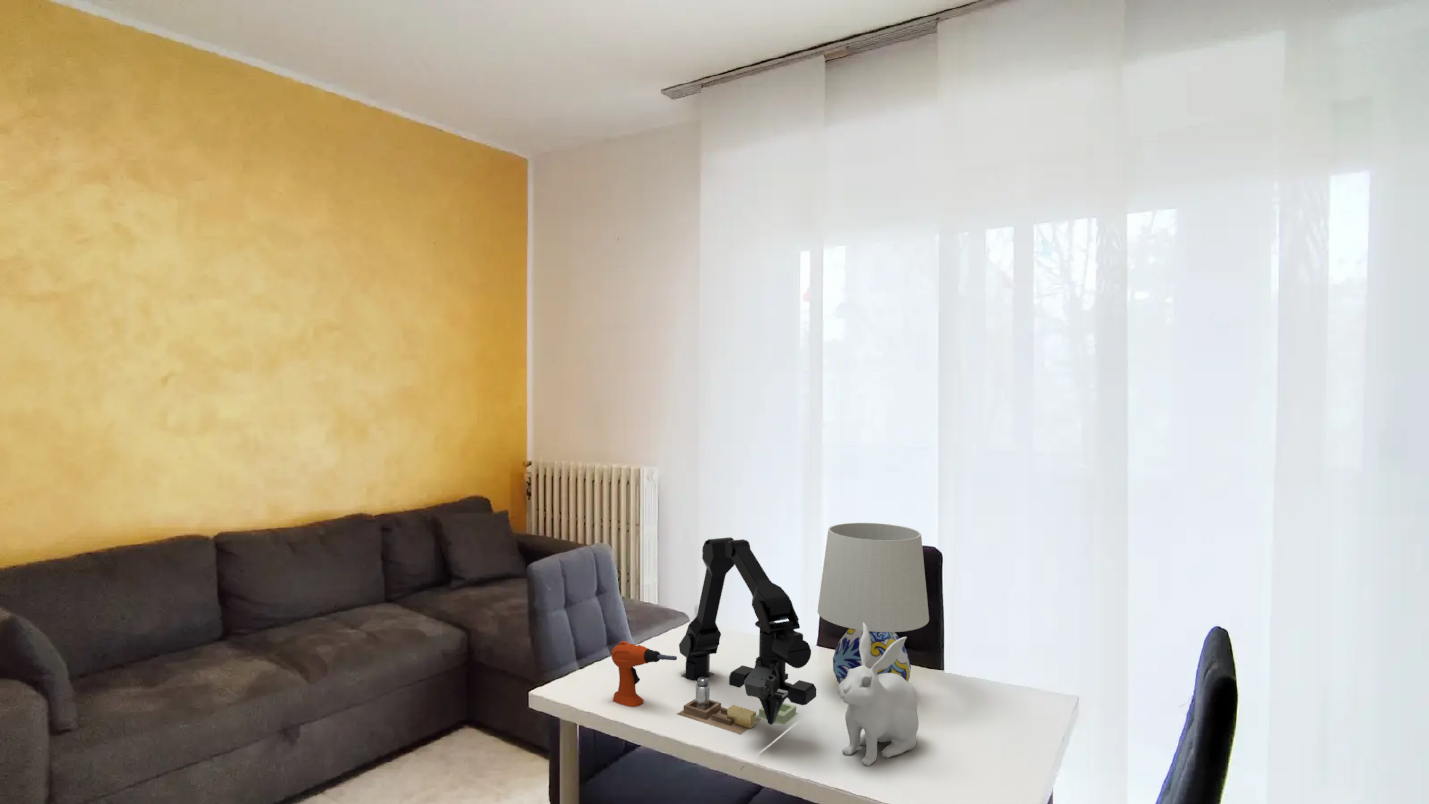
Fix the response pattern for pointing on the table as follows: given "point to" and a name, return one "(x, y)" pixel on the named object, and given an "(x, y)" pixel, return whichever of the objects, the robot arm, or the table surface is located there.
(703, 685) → the chrome stepped cylinder
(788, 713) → the tray
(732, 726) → the socket block
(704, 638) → the robot arm
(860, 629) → the table lamp
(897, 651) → the rabbit
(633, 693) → the toy drill
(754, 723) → the yellow rectangular block
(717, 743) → the table surface
